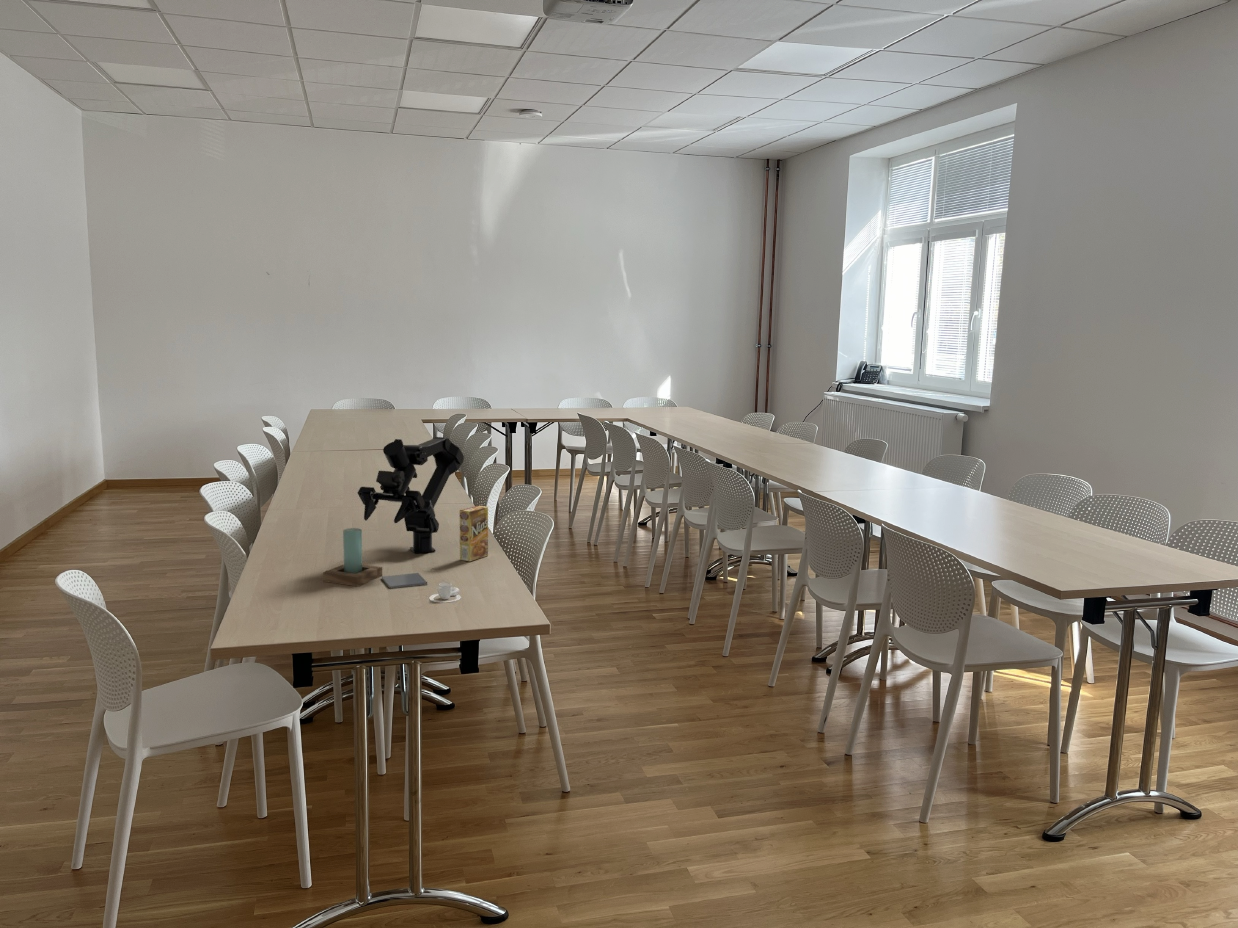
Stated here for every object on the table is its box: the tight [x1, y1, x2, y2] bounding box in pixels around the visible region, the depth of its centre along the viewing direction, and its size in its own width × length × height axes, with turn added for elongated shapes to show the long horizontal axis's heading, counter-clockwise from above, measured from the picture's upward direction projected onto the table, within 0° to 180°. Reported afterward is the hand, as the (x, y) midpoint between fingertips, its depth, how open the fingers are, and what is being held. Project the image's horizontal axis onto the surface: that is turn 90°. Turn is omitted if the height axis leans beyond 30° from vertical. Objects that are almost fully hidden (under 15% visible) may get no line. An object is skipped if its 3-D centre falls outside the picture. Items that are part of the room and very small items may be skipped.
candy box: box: [459, 505, 489, 562], centre depth 260 cm, size 9×4×15 cm, turn 150°
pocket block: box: [322, 563, 383, 587], centre depth 236 cm, size 11×11×2 cm
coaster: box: [381, 572, 428, 590], centre depth 235 cm, size 10×10×1 cm
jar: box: [342, 527, 363, 574], centre depth 236 cm, size 5×5×14 cm
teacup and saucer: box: [428, 582, 462, 604], centre depth 222 cm, size 9×8×4 cm
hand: (379, 520), depth 242 cm, fingers open, 9 cm apart
